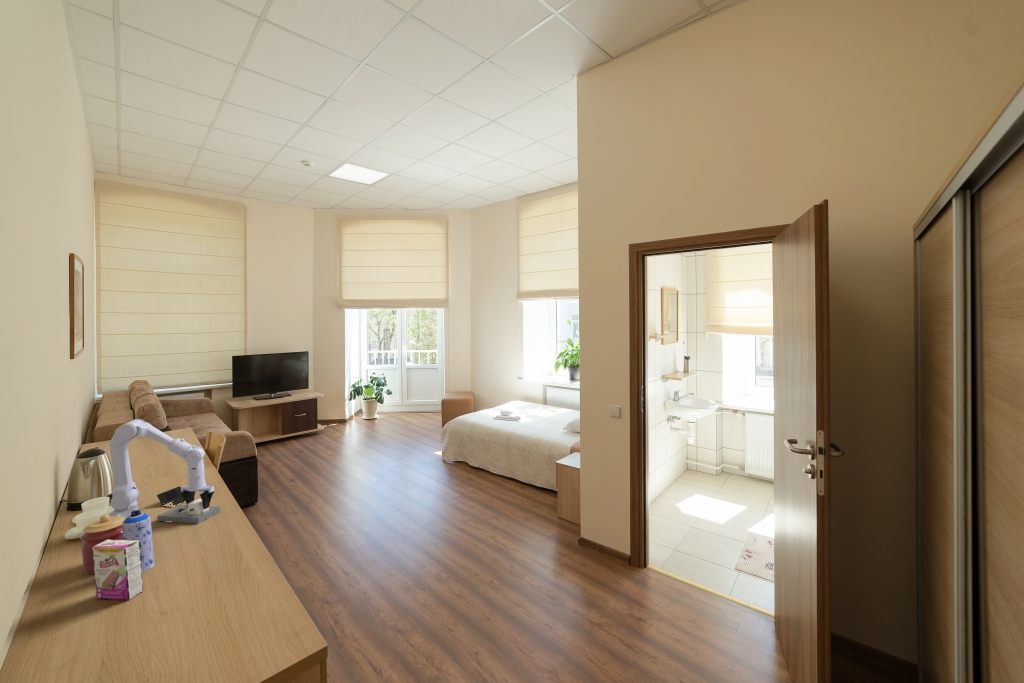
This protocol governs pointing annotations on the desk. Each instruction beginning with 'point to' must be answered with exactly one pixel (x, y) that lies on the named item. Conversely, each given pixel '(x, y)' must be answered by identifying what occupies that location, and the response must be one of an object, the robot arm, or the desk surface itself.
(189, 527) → the desk surface
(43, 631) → the desk surface
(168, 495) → the black angular piece
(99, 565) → the candy bar box
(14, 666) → the desk surface
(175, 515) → the socket
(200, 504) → the plug
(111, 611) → the desk surface
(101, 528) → the canister
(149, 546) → the aerosol can
